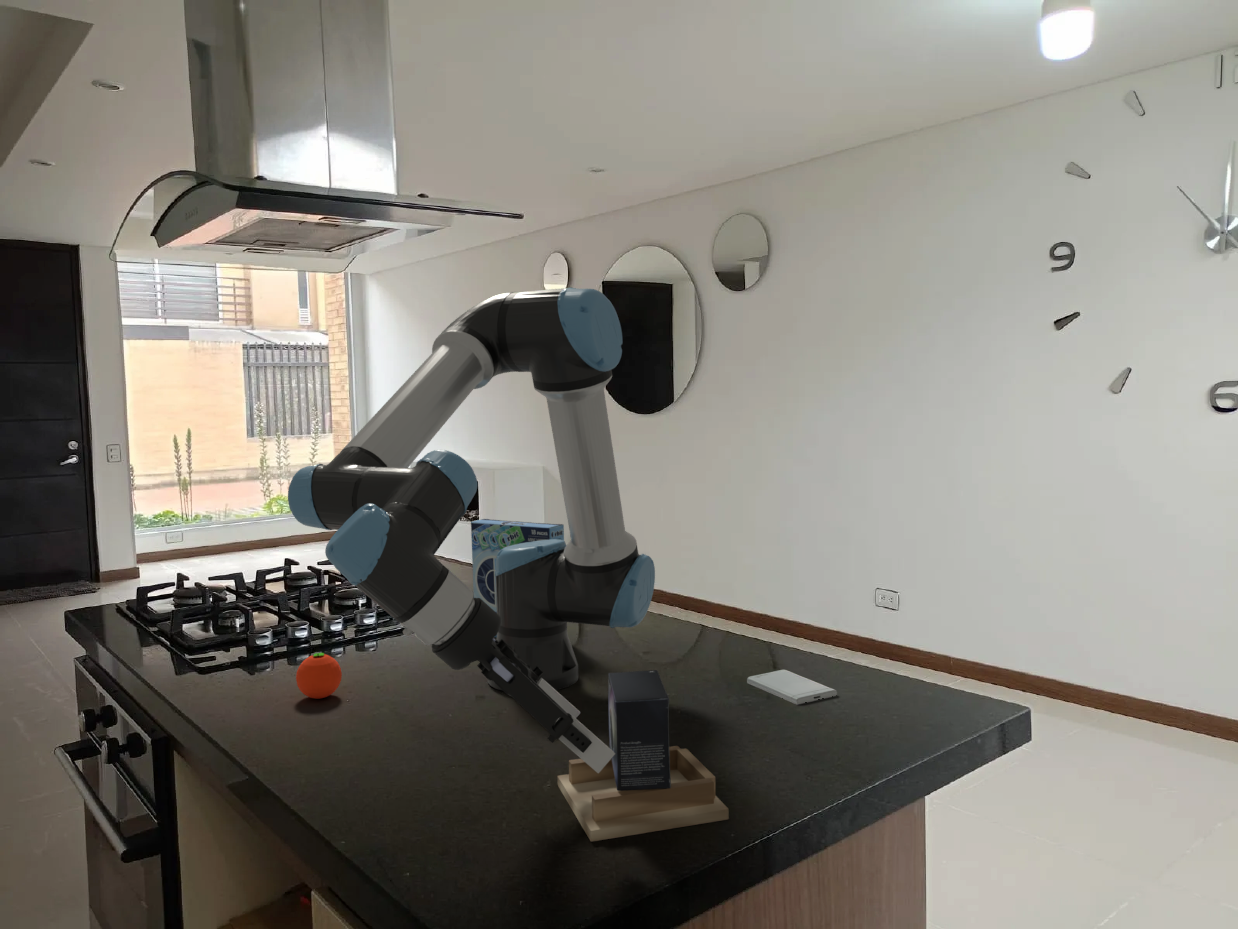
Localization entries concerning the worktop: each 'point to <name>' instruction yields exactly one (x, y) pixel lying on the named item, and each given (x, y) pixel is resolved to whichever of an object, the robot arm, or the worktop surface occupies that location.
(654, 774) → the small box
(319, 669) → the clementine
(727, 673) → the worktop surface
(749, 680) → the hard drive
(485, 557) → the gum box
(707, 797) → the tray
